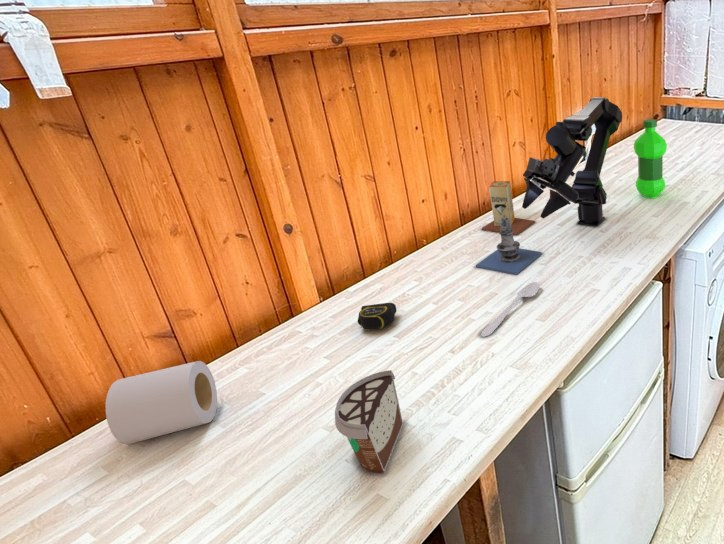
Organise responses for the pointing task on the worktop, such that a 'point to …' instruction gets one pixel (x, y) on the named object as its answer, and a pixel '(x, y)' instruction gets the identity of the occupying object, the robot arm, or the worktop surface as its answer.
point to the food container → (371, 419)
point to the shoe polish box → (501, 201)
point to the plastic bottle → (650, 160)
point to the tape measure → (377, 316)
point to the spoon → (525, 292)
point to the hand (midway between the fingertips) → (532, 212)
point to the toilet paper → (161, 402)
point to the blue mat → (513, 267)
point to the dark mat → (516, 226)
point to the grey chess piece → (507, 242)
